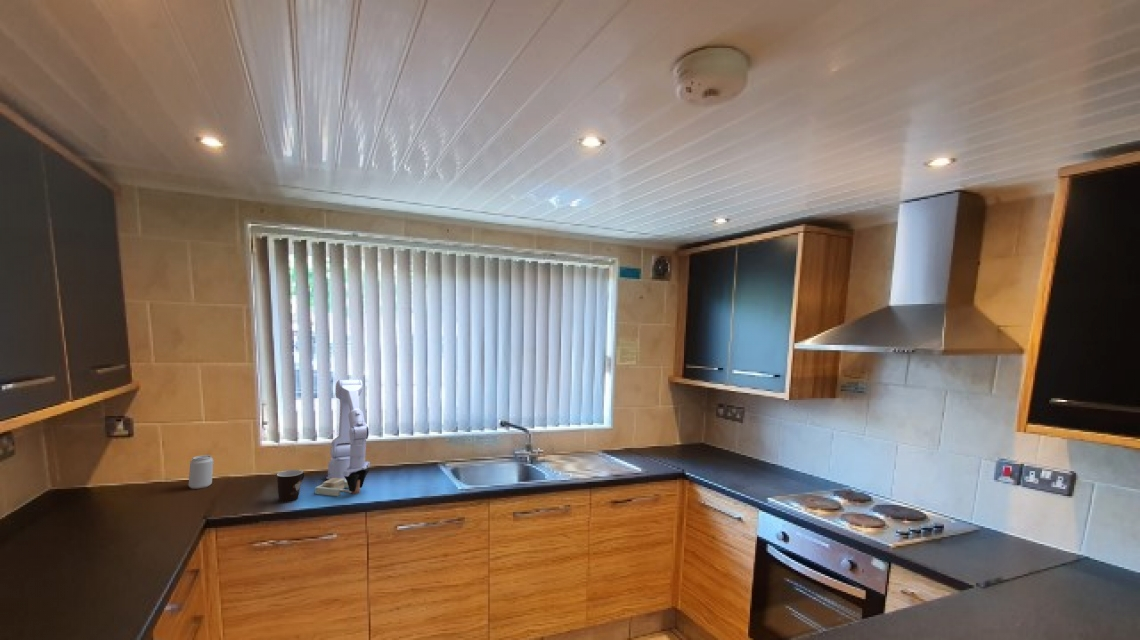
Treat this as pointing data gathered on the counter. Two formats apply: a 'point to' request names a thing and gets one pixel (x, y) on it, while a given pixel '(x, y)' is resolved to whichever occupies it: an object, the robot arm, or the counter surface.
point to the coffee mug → (289, 485)
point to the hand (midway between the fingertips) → (355, 489)
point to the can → (201, 472)
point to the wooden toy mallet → (341, 485)
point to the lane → (329, 490)
